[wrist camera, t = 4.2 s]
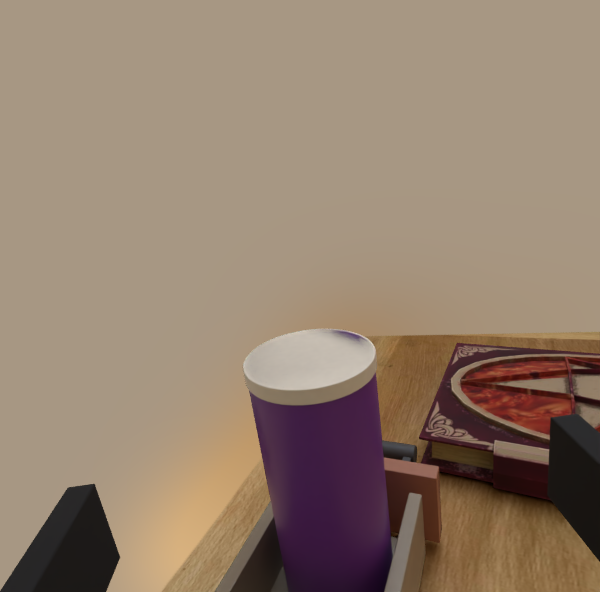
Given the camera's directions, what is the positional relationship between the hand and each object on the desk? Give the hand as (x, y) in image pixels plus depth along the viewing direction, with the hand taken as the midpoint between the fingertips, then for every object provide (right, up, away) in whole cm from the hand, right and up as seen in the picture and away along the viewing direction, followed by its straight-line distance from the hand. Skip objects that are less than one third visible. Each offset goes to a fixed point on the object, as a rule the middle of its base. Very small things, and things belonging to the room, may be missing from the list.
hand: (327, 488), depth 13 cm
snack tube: (+2, -12, +14) cm, 18 cm away
